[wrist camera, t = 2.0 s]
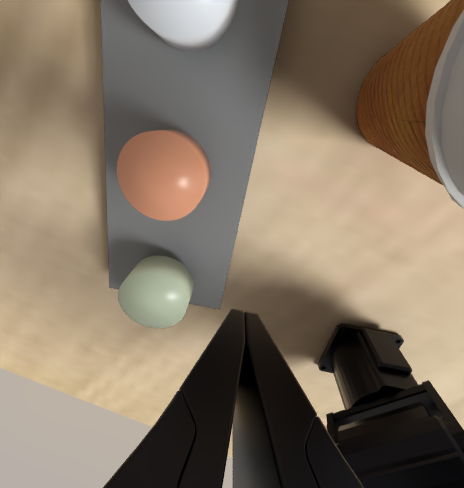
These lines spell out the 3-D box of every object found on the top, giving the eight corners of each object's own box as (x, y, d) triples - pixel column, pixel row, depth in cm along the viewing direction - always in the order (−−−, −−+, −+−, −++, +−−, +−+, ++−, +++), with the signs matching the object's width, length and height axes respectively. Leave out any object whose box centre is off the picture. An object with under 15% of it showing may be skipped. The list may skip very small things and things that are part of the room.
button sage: (189, 311, 22) (182, 333, 19) (132, 300, 21) (118, 321, 19) (197, 262, 19) (190, 281, 17) (133, 249, 19) (117, 266, 17)
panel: (221, 295, 24) (219, 309, 23) (119, 275, 24) (109, 287, 22) (292, -25, 14) (298, -46, 12) (117, -66, 14) (97, -93, 12)
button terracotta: (204, 214, 18) (198, 228, 15) (134, 199, 18) (117, 211, 15) (216, 139, 15) (210, 142, 13) (136, 121, 15) (116, 121, 13)
